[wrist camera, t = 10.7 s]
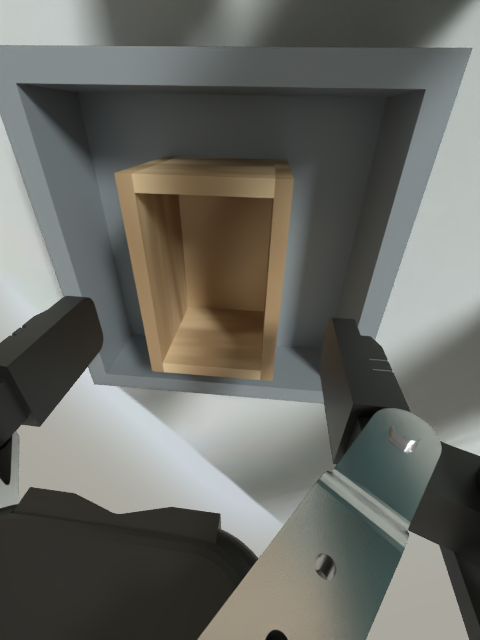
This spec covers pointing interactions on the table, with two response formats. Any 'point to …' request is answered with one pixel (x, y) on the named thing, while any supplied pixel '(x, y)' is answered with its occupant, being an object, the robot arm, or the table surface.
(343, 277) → the grey square tray
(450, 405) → the table surface
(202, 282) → the small oak crate
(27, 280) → the table surface
